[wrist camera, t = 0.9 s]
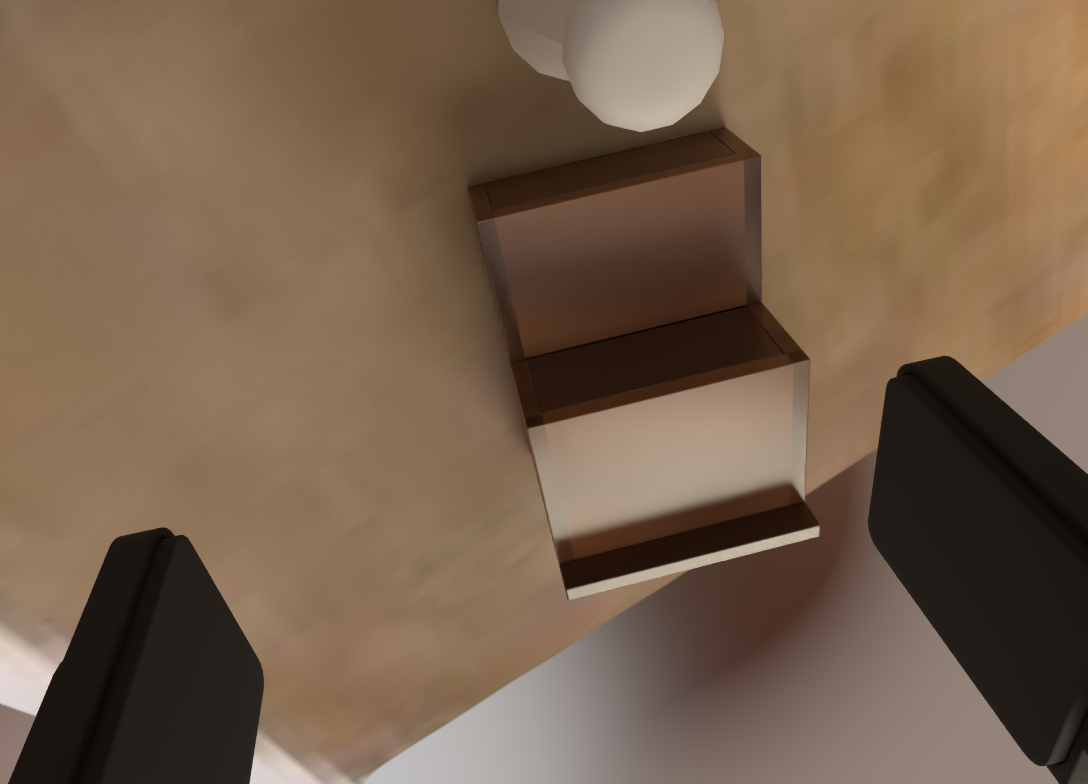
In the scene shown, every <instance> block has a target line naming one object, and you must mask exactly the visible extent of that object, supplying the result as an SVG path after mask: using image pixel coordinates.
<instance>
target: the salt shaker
mask: <svg viewBox="0 0 1088 784" xmlns="http://www.w3.org/2000/svg"><path fill="white" fill-rule="evenodd" d="M498 16H499V19H500V21H501V23H502V26H503V28H504V30H505V33H506V35H507V37H508V40H509V42H510V44H511V47H512V49H513V50H514V51H515V52H516V53H517V54H518V55H519V56H520V57H522V58H523V59H524V60H525V61H526V62H527V63H528V64H529V65H530V66H532V67H533V68H534V69H535V70H536V71H537V72H538V73H541V74H545V75H548V76H552V77H556V78H559V79H563V80H566V81H570V82H571V85H572V87H573V90H574V92H575V94H576V96H577V98H578V99H579V101H580V102H582V103H583V104H584V105H585V106H586V107H587V108H588V109H589V110H590V111H591V112H592V113H594V114H595V115H596V116H597V117H598V118H599V119H600V120H601V121H602V122H603V123H606V124H609V125H612V126H616V127H621V128H625V129H630V130H634V131H639V132H644V131H648V130H652V129H657V128H661V127H665V126H670V125H673V124H675V123H676V122H677V121H678V120H680V119H681V118H682V117H683V116H685V115H686V114H687V113H689V112H690V111H691V110H692V109H694V108H695V107H696V106H697V105H699V104H700V103H701V101H702V100H703V98H704V96H705V95H706V93H707V91H708V90H709V88H710V86H711V85H712V83H713V81H714V80H715V78H716V76H717V75H718V73H719V69H720V62H721V56H722V49H723V42H724V32H723V28H722V24H721V20H720V15H719V11H718V7H717V3H716V0H498Z"/></svg>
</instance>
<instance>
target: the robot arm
mask: <svg viewBox="0 0 1088 784" xmlns="http://www.w3.org/2000/svg"><path fill="white" fill-rule="evenodd" d="M868 527H869V532H870V535H871V538H872V541H873V543H874V545H875V546H876V548H877V549H878V551H879V552H880V553H881V555H882V556H883V558H884V559H885V560H886V562H887V563H888V565H889V566H890V567H891V569H892V570H893V572H894V573H895V574H896V576H897V577H898V579H899V580H900V581H901V583H902V584H903V585H904V587H905V588H906V590H907V591H908V593H909V594H910V595H911V597H912V598H913V599H914V601H915V602H916V604H917V605H918V606H919V608H920V609H921V611H922V612H923V613H924V615H925V616H926V617H927V619H928V620H929V622H930V623H931V624H932V626H933V627H934V629H935V630H936V631H937V633H938V634H939V636H940V637H941V638H942V640H943V641H944V643H945V644H946V645H947V647H948V648H949V650H950V651H951V652H952V654H953V655H954V657H955V658H956V659H957V661H958V662H959V663H960V665H961V666H962V668H963V669H964V670H965V672H966V673H967V675H968V676H969V677H970V679H971V680H972V682H973V683H974V684H975V686H976V687H977V689H978V690H979V691H980V693H981V694H982V696H983V697H984V698H985V700H986V701H987V702H988V704H989V705H990V707H991V708H992V709H993V711H994V712H995V714H996V715H997V716H998V718H999V719H1000V721H1001V722H1002V723H1003V725H1004V726H1005V728H1006V729H1007V730H1008V732H1009V733H1010V734H1011V736H1012V737H1013V738H1014V740H1015V741H1016V743H1017V744H1018V746H1019V747H1020V748H1021V750H1022V751H1023V752H1024V754H1025V755H1026V756H1027V757H1028V758H1029V759H1030V760H1031V761H1032V762H1033V763H1035V764H1036V765H1039V766H1047V767H1048V769H1049V770H1050V772H1051V773H1052V774H1053V776H1054V777H1055V778H1056V780H1057V781H1058V782H1059V784H1088V474H1087V473H1085V472H1084V471H1083V470H1082V469H1081V468H1080V467H1079V466H1077V465H1076V464H1075V463H1074V462H1073V461H1072V460H1071V459H1069V458H1068V457H1067V456H1066V455H1065V454H1064V453H1062V452H1061V451H1060V450H1059V449H1058V448H1057V447H1056V446H1054V445H1053V444H1052V443H1051V442H1050V441H1049V440H1047V439H1046V438H1045V437H1044V436H1043V435H1042V434H1041V433H1039V432H1038V431H1037V430H1036V429H1035V428H1034V427H1032V426H1031V425H1030V424H1029V423H1028V422H1027V421H1025V420H1024V419H1023V418H1022V417H1021V416H1020V415H1018V414H1017V413H1016V412H1015V411H1014V410H1013V409H1012V408H1010V407H1009V406H1008V405H1007V404H1006V403H1005V402H1004V401H1002V400H1001V399H1000V398H999V397H998V396H997V395H996V394H994V393H993V392H992V391H991V390H990V389H989V388H987V387H986V386H985V385H984V384H983V383H982V382H981V381H979V380H978V379H977V378H976V377H975V376H974V375H972V374H971V373H970V372H969V371H968V370H967V369H966V368H964V367H963V366H962V365H961V364H960V363H959V362H957V361H956V360H955V359H953V358H951V357H949V356H941V357H936V358H932V359H927V360H923V361H918V362H913V363H909V364H905V365H903V366H901V368H900V369H899V370H898V373H897V376H896V378H892V379H890V380H889V382H888V383H887V387H886V393H885V400H884V408H883V415H882V422H881V430H880V437H879V444H878V451H877V459H876V466H875V473H874V481H873V489H872V496H871V503H870V511H869V517H868ZM263 689H264V677H263V670H262V667H261V664H260V661H259V659H258V657H257V656H256V654H255V652H254V651H253V649H252V647H251V645H250V644H249V642H248V640H247V638H246V637H245V635H244V633H243V632H242V630H241V628H240V626H239V625H238V623H237V621H236V620H235V618H234V616H233V614H232V613H231V611H230V609H229V607H228V606H227V604H226V602H225V601H224V599H223V597H222V595H221V594H220V592H219V590H218V589H217V587H216V585H215V583H214V582H213V580H212V578H211V576H210V575H209V573H208V571H207V570H206V568H205V566H204V564H203V563H202V561H201V559H200V557H199V556H198V554H197V552H196V551H195V549H194V547H193V545H192V544H191V542H190V541H189V539H188V538H187V537H186V536H184V535H178V536H174V534H173V533H172V532H171V531H170V530H169V529H167V528H157V529H152V530H148V531H143V532H139V533H134V534H129V535H125V536H120V537H118V538H116V539H115V540H114V541H113V542H112V544H111V545H110V547H109V550H108V552H107V555H106V557H105V560H104V562H103V564H102V567H101V569H100V572H99V574H98V577H97V579H96V582H95V584H94V586H93V589H92V591H91V594H90V596H89V599H88V601H87V603H86V606H85V608H84V611H83V613H82V616H81V618H80V621H79V623H78V625H77V628H76V630H75V633H74V635H73V638H72V640H71V642H70V645H69V647H68V650H67V652H66V655H65V657H64V660H63V661H62V662H61V663H60V664H59V666H58V668H57V670H56V671H55V673H54V675H53V677H52V679H51V682H50V684H49V686H48V689H47V691H46V694H45V696H44V699H43V701H42V703H41V706H40V708H39V711H38V713H37V715H36V718H35V720H34V723H33V725H32V728H31V730H30V732H29V735H28V737H27V739H26V742H25V744H24V747H23V749H22V752H21V754H20V757H19V759H18V761H17V764H16V766H15V769H14V771H13V773H12V776H11V778H10V780H9V783H8V784H249V782H250V776H251V769H252V763H253V756H254V749H255V743H256V736H257V730H258V723H259V716H260V710H261V703H262V697H263Z"/></svg>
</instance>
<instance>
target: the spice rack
mask: <svg viewBox="0 0 1088 784" xmlns="http://www.w3.org/2000/svg"><path fill="white" fill-rule="evenodd" d="M468 194H469V198H470V202H471V206H472V210H473V214H474V219H475V223H476V227H477V231H478V235H479V239H480V243H481V248H482V252H483V256H484V260H485V264H486V268H487V273H488V277H489V281H490V285H491V289H492V293H493V298H494V302H495V306H496V310H497V314H498V318H499V322H500V327H501V331H502V335H503V339H504V343H505V347H506V352H507V356H508V360H509V364H510V368H511V372H512V377H513V381H514V385H515V389H516V393H517V397H518V402H519V406H520V410H521V414H522V418H523V422H524V426H525V431H526V435H527V439H528V443H529V447H530V451H531V456H532V460H533V464H534V468H535V472H536V475H537V479H538V483H539V487H540V491H541V495H542V499H543V503H544V507H545V511H546V515H547V519H548V523H549V527H550V531H551V535H552V539H553V543H554V547H555V551H556V555H557V559H558V563H559V567H560V571H561V575H562V579H563V583H564V587H565V591H566V595H567V599H568V600H572V599H576V598H580V597H584V596H588V595H592V594H596V593H600V592H604V591H608V590H612V589H615V588H619V587H623V586H627V585H631V584H635V583H639V582H643V581H647V580H651V579H655V578H658V577H662V576H666V575H670V574H674V573H678V572H682V571H686V570H690V569H694V568H698V567H701V566H705V565H709V564H713V563H717V562H721V561H725V560H729V559H732V558H737V557H740V556H744V555H748V554H752V553H756V552H760V551H764V550H768V549H771V548H776V547H780V546H783V545H787V544H791V543H795V542H799V541H803V540H807V539H811V538H815V537H818V536H819V535H820V524H819V522H818V521H817V519H816V518H815V516H814V515H813V513H812V512H811V510H810V509H809V507H808V506H807V504H806V502H805V481H806V455H807V429H808V403H809V377H810V358H809V357H808V356H807V355H806V354H805V353H804V351H803V350H802V349H801V348H800V347H799V346H798V345H797V343H796V342H795V341H794V340H793V339H792V337H791V336H790V335H789V334H788V333H787V332H786V330H785V329H784V328H783V327H782V326H781V325H780V323H779V322H778V321H777V320H776V319H775V318H774V316H773V315H772V314H771V313H770V312H769V310H768V309H767V308H766V307H765V306H764V305H763V303H762V265H761V155H760V154H759V153H757V152H756V151H755V150H753V149H752V148H751V147H750V146H748V145H747V144H746V143H745V142H743V141H742V140H741V139H740V138H738V137H737V136H736V135H735V134H733V133H732V132H731V131H729V130H728V129H727V128H722V129H718V130H714V131H710V132H705V133H701V134H697V135H692V136H688V137H684V138H679V139H675V140H671V141H667V142H662V143H658V144H654V145H649V146H645V147H641V148H636V149H632V150H628V151H624V152H619V153H615V154H611V155H606V156H602V157H598V158H593V159H589V160H585V161H581V162H576V163H572V164H568V165H563V166H559V167H555V168H550V169H546V170H542V171H538V172H533V173H529V174H525V175H520V176H516V177H512V178H507V179H503V180H499V181H495V182H490V183H486V184H482V185H477V186H473V187H469V188H468ZM716 312H718V313H717V314H713V315H709V316H705V317H701V318H696V319H692V320H688V321H684V322H680V323H676V324H672V325H668V326H663V327H659V328H655V329H651V330H647V331H643V332H639V333H635V334H630V335H626V336H622V337H618V338H614V339H610V340H606V341H602V342H597V343H593V344H589V345H585V346H581V347H577V348H573V349H569V350H565V351H560V352H556V353H552V354H548V355H544V356H540V357H536V358H532V359H528V360H527V358H530V357H534V356H539V355H543V354H547V353H551V352H555V351H559V350H563V349H567V348H572V347H576V346H580V345H584V344H588V343H592V342H596V341H600V340H605V339H609V338H613V337H617V336H621V335H625V334H629V333H633V332H638V331H642V330H646V329H650V328H654V327H658V326H662V325H666V324H671V323H675V322H679V321H683V320H687V319H691V318H695V317H699V316H704V315H708V314H712V313H716Z"/></svg>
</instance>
